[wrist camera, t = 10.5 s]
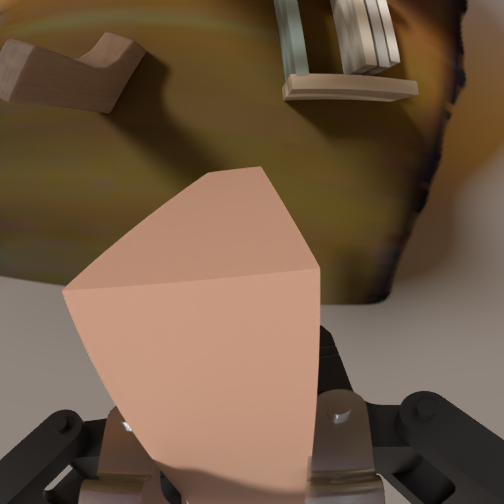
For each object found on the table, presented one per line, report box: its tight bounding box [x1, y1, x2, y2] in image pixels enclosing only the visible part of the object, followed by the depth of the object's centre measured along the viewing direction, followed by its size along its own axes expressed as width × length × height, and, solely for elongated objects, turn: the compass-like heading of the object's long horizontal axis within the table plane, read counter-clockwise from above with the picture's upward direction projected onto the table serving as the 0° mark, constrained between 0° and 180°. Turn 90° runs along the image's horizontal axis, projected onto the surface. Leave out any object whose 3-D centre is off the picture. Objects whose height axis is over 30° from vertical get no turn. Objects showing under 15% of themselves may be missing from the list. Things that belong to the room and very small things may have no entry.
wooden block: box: [0, 32, 146, 114], centre depth 19 cm, size 9×4×18 cm, turn 148°
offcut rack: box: [274, 0, 418, 102], centre depth 23 cm, size 18×13×7 cm
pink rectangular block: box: [62, 167, 320, 504], centre depth 11 cm, size 10×3×14 cm, turn 6°
